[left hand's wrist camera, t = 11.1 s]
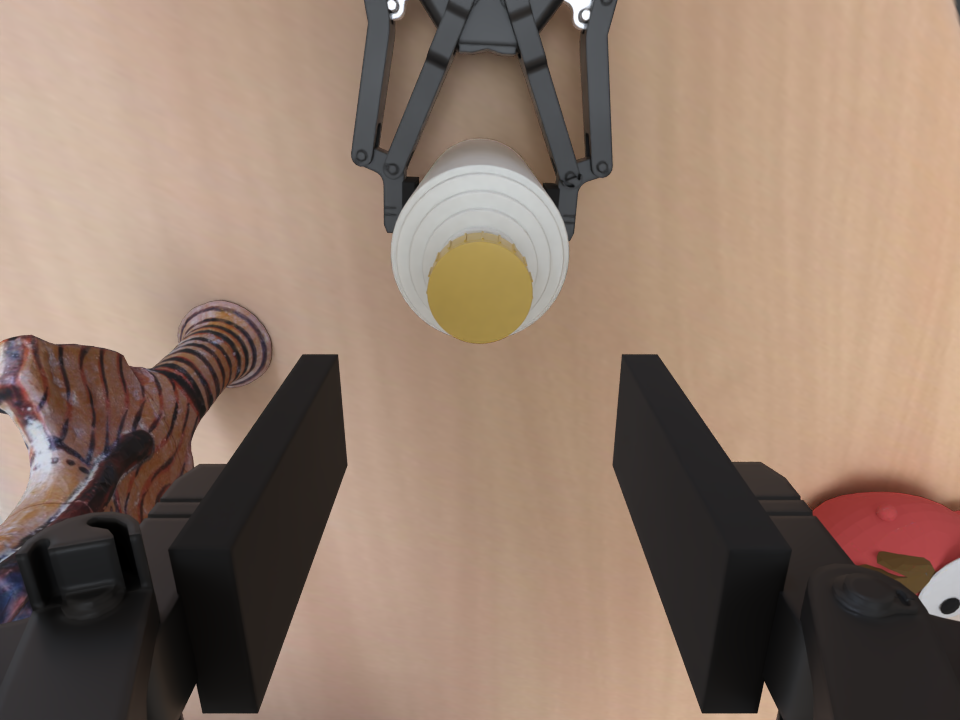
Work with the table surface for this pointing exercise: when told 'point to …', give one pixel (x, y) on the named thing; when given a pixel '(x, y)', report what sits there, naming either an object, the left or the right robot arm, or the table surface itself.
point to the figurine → (113, 423)
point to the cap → (480, 288)
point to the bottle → (479, 221)
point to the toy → (901, 542)
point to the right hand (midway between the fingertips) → (476, 287)
